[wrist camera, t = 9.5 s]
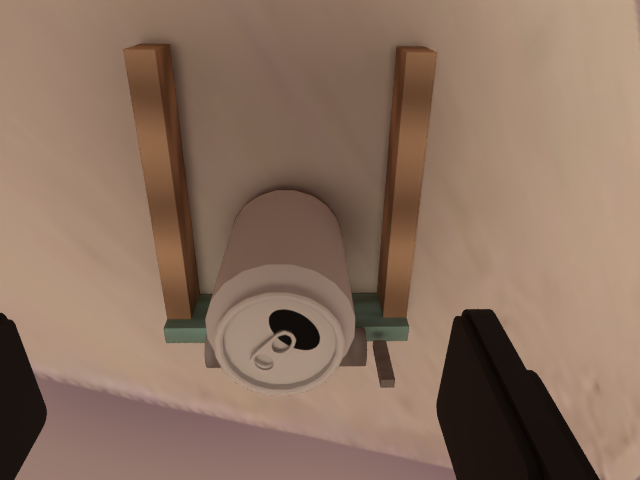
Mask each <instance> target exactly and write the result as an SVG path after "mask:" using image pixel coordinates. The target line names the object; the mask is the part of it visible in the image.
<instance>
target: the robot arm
mask: <svg viewBox="0 0 640 480" xmlns="http://www.w3.org/2000/svg"><path fill="white" fill-rule="evenodd" d="M436 408H437V416H438V420H439V424H440V427H441V430H442V433H443V436H444V440H445V443H446V446H447V449H448V453H449V456H450V459H451V462H452V466H453V469H454V472H455V475H456V479H457V480H600V479H599V478H598V476H597V474H596V473H595V471H594V469H593V467H592V466H591V464H590V462H589V461H588V459H587V457H586V455H585V454H584V452H583V450H582V449H581V447H580V445H579V444H578V442H577V440H576V438H575V437H574V435H573V433H572V432H571V430H570V428H569V426H568V425H567V423H566V421H565V420H564V418H563V416H562V414H561V413H560V411H559V409H558V408H557V406H556V404H555V403H554V401H553V399H552V397H551V396H550V394H549V392H548V391H547V389H546V387H545V385H544V384H543V382H542V380H541V379H540V377H539V376H538V375H537V373H535V372H534V371H532V370H527V369H526V368H525V366H524V364H523V362H522V361H521V359H520V357H519V355H518V353H517V352H516V350H515V348H514V346H513V345H512V343H511V341H510V339H509V338H508V336H507V334H506V332H505V330H504V329H503V327H502V325H501V323H500V322H499V320H498V318H497V316H496V315H495V313H494V312H493V310H491V309H466V310H464V311H463V312H462V315H461V316H456V317H455V318H454V321H453V325H452V330H451V335H450V340H449V344H448V349H447V354H446V359H445V364H444V369H443V374H442V378H441V383H440V388H439V393H438V398H437V407H436ZM46 415H47V410H46V405H45V403H44V400H43V397H42V395H41V392H40V390H39V387H38V384H37V382H36V379H35V376H34V373H33V371H32V368H31V365H30V363H29V360H28V357H27V354H26V352H25V349H24V346H23V344H22V341H21V338H20V336H19V333H18V330H17V328H16V325H15V323H14V322H13V321H12V320H9V319H7V317H6V316H5V315H4V314H3V313H0V480H14V479H15V477H16V476H17V474H18V472H19V470H20V468H21V466H22V465H23V463H24V461H25V459H26V457H27V455H28V454H29V452H30V450H31V448H32V446H33V444H34V443H35V441H36V439H37V437H38V435H39V434H40V432H41V430H42V428H43V426H44V424H45V421H46Z"/></svg>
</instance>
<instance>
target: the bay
mask: <svg viewBox="0 0 640 480" xmlns="http://www.w3.org/2000/svg"><path fill="white" fill-rule="evenodd" d="M123 51H124V57H125V63H126V69H127V75H128V81H129V87H130V94H131V100H132V106H133V112H134V118H135V124H136V130H137V136H138V143H139V149H140V155H141V161H142V167H143V173H144V179H145V185H146V191H147V198H148V204H149V210H150V216H151V222H152V228H153V234H154V240H155V247H156V253H157V259H158V265H159V271H160V277H161V283H162V289H163V296H164V302H165V308H166V314H167V322H166V324H165V326H164V334H165V340H166V343H205V363H206V367H207V368H221V366H220V364H219V362H218V361H217V359H216V357H215V352H214V350H213V348H212V346H211V344H210V342H209V340H208V338H207V330H206V321H205V319H206V315H207V312H208V308H209V305H210V301H211V298H212V295H213V294H200V291H199V283H198V275H197V267H196V259H195V250H194V242H193V234H192V226H191V218H190V209H189V201H188V193H187V185H186V176H185V168H184V160H183V152H182V144H181V135H180V127H179V119H178V111H177V103H176V94H175V86H174V78H173V70H172V61H171V53H170V45H169V44H138V45H135V46H132V47H129V48H126V49H123ZM436 58H437V52H435V51H433V50H430V49H428V48H426V47H405V46H397V51H396V63H395V76H394V88H393V101H392V113H391V126H390V138H389V151H388V163H387V176H386V188H385V201H384V213H383V226H382V238H381V251H380V263H379V276H378V288H377V293H351V294H352V301H353V307H354V313H355V333H354V339H353V341H352V343H351V345H350V347H349V350H348V352H347V354H346V355H345V356H344V357H343V359H342V361H341V363H340V365H339V366H366V361H367V341H373V351H374V356H375V361H376V366H377V372H378V377H379V382H380V387H381V388H388V387H394V384H395V378H394V373H393V369H392V365H391V361H390V356H389V352H388V348H387V344H386V341H407V340H408V332H409V325H408V321H407V318H406V316H407V307H408V299H409V290H410V281H411V273H412V264H413V256H414V247H415V238H416V230H417V221H418V213H419V204H420V196H421V187H422V178H423V170H424V161H425V153H426V144H427V135H428V127H429V118H430V110H431V101H432V92H433V84H434V75H435V67H436Z"/></svg>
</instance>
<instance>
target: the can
mask: <svg viewBox="0 0 640 480" xmlns="http://www.w3.org/2000/svg"><path fill="white" fill-rule="evenodd" d="M205 321H206V330H207V338H208V340H209V342H210V344H211V346H212V348H213V350H214V352H215V357H216V359H217V361H218V362H219V364H220V366H221V368H222V370H223V371H224V372H225V373H226V374H227V375H228V376H229V377H230V378H231V379H232V380H233V381H234V382H235V383H237V384H239V385H241V386H243V387H245V388H247V389H249V390H251V391H253V392H257V393H262V394H266V395H270V396H290V395H295V394H299V393H303V392H307V391H310V390H312V389H314V388H315V387H317V386H319V385H321V384H323V383H324V382H326V381H327V380H328V379H329V378H330V377H331V376H332V375H333V374H334V373H335V372H336V371H337V370H338V367H339V365H340V363H341V361H342V359H343V357H344V356H345V355H346V354H347V352H348V350H349V347H350V345H351V343H352V341H353V339H354V333H355V313H354V307H353V301H352V294H351V288H350V282H349V276H348V269H347V263H346V257H345V251H344V244H343V238H342V233H341V230H340V227H339V224H338V220H337V218H336V217H335V216H334V214H333V213H332V212H331V210H330V209H329V208H328V206H327V205H325V204H324V203H322V202H321V201H319V200H318V199H317V198H315V197H314V196H312V195H309V194H305V193H302V192H299V191H295V190H276V191H273V192H269V193H266V194H263V195H259V196H258V197H256V198H255V199H253V200H252V201H251V202H249V203H248V204H246V205H245V206H244V207H243V209H242V210H241V211H240V213H239V214H238V216H237V217H236V218H235V221H234V224H233V228H232V231H231V234H230V238H229V241H228V244H227V248H226V251H225V255H224V258H223V261H222V265H221V268H220V271H219V275H218V278H217V281H216V285H215V288H214V291H213V295H212V298H211V301H210V305H209V308H208V312H207V315H206V319H205Z"/></svg>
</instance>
